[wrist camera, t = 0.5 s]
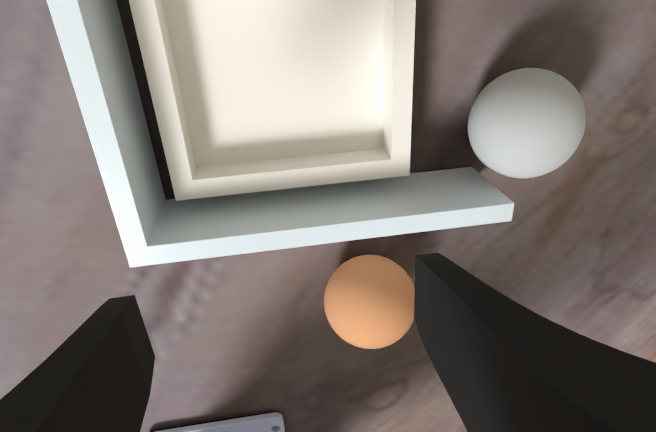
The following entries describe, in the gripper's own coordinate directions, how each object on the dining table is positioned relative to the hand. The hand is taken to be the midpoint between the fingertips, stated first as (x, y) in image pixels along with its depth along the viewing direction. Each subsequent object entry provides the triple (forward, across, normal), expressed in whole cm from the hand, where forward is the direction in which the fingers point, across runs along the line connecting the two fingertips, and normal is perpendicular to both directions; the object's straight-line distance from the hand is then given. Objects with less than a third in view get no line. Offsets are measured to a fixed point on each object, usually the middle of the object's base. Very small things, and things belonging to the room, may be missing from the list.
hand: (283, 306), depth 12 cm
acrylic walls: (+10, -2, -4) cm, 10 cm away
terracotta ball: (+10, -4, +6) cm, 12 cm away
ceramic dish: (+10, -1, -5) cm, 11 cm away
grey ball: (+10, -10, -2) cm, 14 cm away
